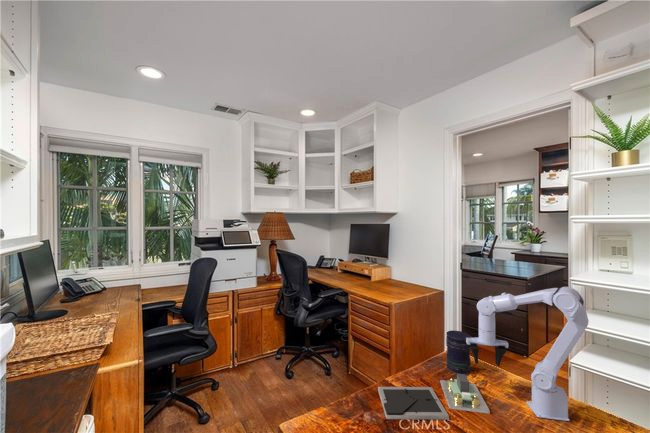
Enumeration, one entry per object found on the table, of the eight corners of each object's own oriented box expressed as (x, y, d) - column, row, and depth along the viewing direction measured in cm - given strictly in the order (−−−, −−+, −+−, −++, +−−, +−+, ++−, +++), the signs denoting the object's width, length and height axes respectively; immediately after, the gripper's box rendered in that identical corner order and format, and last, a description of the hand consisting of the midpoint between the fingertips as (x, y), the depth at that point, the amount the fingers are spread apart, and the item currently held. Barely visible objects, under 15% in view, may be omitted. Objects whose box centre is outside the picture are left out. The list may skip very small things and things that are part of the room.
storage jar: (441, 367, 127) (441, 334, 127) (452, 360, 133) (453, 328, 133) (464, 377, 119) (464, 341, 119) (474, 369, 125) (474, 335, 125)
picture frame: (386, 421, 94) (448, 421, 94) (386, 412, 94) (448, 413, 94) (378, 392, 110) (431, 392, 110) (378, 384, 110) (431, 385, 110)
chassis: (474, 386, 113) (474, 376, 113) (489, 413, 97) (489, 402, 97) (440, 382, 115) (440, 373, 115) (449, 408, 100) (449, 397, 100)
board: (469, 382, 111) (469, 370, 111) (479, 401, 99) (480, 388, 99) (447, 379, 113) (447, 368, 113) (455, 398, 101) (455, 385, 101)
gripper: (503, 326, 113) (503, 360, 113) (464, 323, 116) (464, 356, 116) (510, 333, 106) (510, 369, 106) (469, 330, 109) (469, 365, 109)
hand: (486, 363), depth 111 cm, fingers open, 7 cm apart
